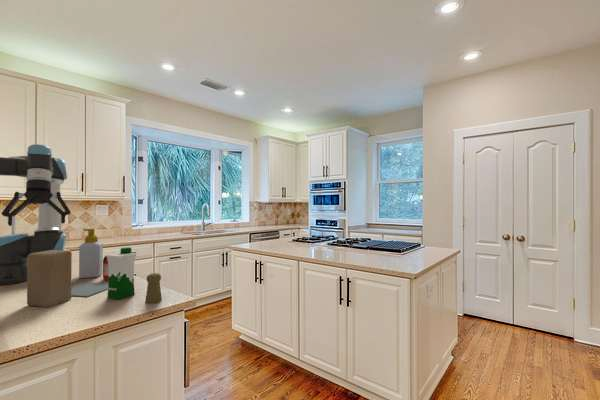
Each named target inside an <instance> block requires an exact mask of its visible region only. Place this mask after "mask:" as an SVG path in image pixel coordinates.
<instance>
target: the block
mask: <svg viewBox="0 0 600 400" xmlns="http://www.w3.org/2000/svg"><path fill="white" fill-rule="evenodd" d="M72 255H73V254H72V251H71V250H65V249H64V250H49V251H43V252H36V253H31V254H28V256H27V281H26V283H27V284H26V304H27V306H29V307H31V306H32V307H40V308H41V307H42V308H49V307H52V306H55V305H57V304H58V305H59V304H60V303H64V302H66V301H69V300H71V298H72V296H71V287H72V266H73V265H72V262H73V261H72V260H73V259H72Z"/></svg>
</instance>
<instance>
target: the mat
mask: <svg viewBox="0 0 600 400" xmlns="http://www.w3.org/2000/svg"><path fill="white" fill-rule="evenodd" d="M104 291H108V282H92V281H90V282H89V281H86V282H83V283H80V284H76V285H73V286H71V297H77V298H89V297H92V296H94V295H96V294H100V293H103V292H104Z"/></svg>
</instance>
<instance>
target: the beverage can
mask: <svg viewBox="0 0 600 400" xmlns="http://www.w3.org/2000/svg"><path fill="white" fill-rule="evenodd" d="M107 255H108V254H106V255H104V257H103V267H102V279H103V280H105V281H108V260H107Z"/></svg>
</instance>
